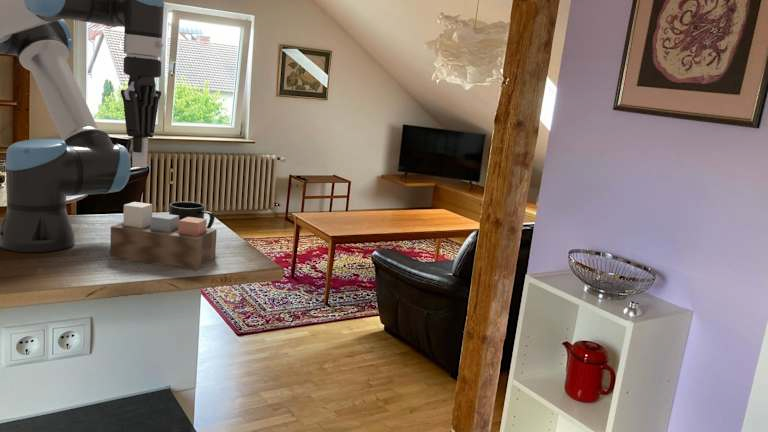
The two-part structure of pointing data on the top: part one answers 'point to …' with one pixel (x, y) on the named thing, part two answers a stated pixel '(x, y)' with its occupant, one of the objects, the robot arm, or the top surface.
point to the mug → (190, 211)
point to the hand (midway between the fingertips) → (139, 166)
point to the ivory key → (137, 214)
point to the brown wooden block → (162, 246)
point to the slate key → (165, 222)
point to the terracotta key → (192, 226)
